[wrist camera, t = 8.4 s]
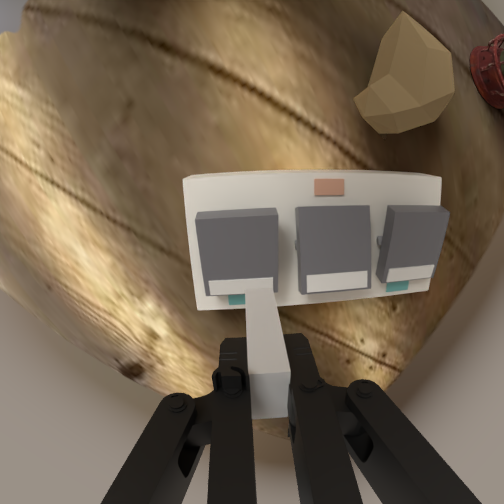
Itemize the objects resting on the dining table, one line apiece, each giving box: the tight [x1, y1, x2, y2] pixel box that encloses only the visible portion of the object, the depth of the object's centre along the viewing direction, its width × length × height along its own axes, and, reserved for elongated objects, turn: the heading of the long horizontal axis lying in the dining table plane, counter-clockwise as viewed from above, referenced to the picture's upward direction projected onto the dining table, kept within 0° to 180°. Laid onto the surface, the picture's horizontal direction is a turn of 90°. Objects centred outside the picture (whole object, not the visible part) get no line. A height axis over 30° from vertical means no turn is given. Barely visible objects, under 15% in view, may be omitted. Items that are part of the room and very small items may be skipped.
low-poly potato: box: [353, 11, 455, 140], centre depth 24 cm, size 15×11×12 cm
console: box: [183, 169, 442, 310], centre depth 32 cm, size 14×28×6 cm, turn 93°
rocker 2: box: [375, 205, 450, 283], centre depth 28 cm, size 8×7×2 cm
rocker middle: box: [295, 205, 371, 295], centre depth 27 cm, size 8×7×2 cm
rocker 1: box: [195, 207, 278, 296], centre depth 27 cm, size 8×7×2 cm
